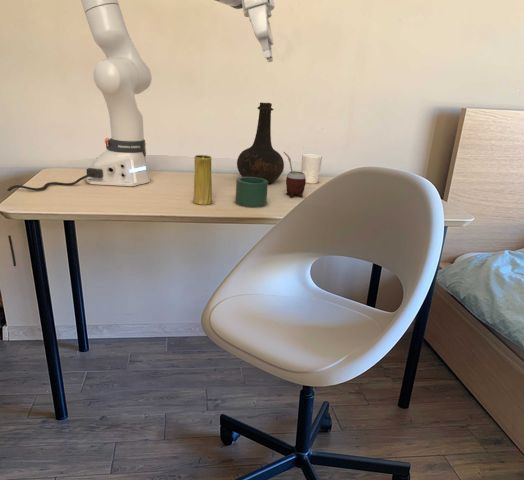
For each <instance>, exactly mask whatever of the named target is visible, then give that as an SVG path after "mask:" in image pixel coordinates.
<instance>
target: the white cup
mask: <svg viewBox="0 0 524 480" xmlns="http://www.w3.org/2000/svg"><path fill="white" fill-rule="evenodd" d="M322 162H323V155H321V154H316V153H303V154H301V171H300V172H302V173H304V174H305V177H306V184H311V185H312V184H317V183H319V177H320V172H321V168H322Z"/></svg>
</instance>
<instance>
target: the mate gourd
mask: <svg viewBox="0 0 524 480" xmlns="http://www.w3.org/2000/svg"><path fill="white" fill-rule="evenodd" d="M283 154H284V155H285V156H286V157H287V160H288V162H289V167H290V171H289V172H288V173H287V175H286V178H285V186H286V193H285V195H287V196H289V198H290V199H291V198H295V197H297V198H303V197H304V196H303V194H304V191H305V187H306V184H307V183H306V177H305V174H304V173H302V172H301V171H294V170H293V166H292V165H293V164H292V160H291V157H290V156H289V154H288V153H286V151H283Z"/></svg>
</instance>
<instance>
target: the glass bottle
mask: <svg viewBox="0 0 524 480" xmlns="http://www.w3.org/2000/svg"><path fill="white" fill-rule="evenodd" d="M272 105H273V103H271V102H259V106H258V107H257V110H259V111H258V120H257V125H256V126H257V127H256V132H255V137H254V139H253V140H254V141H253V142H252V145H251V146H250V147H248V148H245V149H244V150H242V151H241V152H240V154H239V155H238V157H237V160H236V168H237V171H238V173H239V175H240V177H258V178H263V179H266V180H267V181H268V185H269V184H273V183H274V182H275V181H277V180H278V179H279V178H280V176H281V175H282V174H283V172H284V169H285V161H284V158H283V156H282V155H281V154H280V153H279V151H277V150H275V148H274V147H273V145H272V133H271V132H272V129H271V128H272V126H271V125H272V111H274V108H273V106H272Z"/></svg>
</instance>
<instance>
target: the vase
mask: <svg viewBox="0 0 524 480" xmlns="http://www.w3.org/2000/svg"><path fill="white" fill-rule="evenodd" d="M193 185H194V186H193V188H194V189H193V201H192V202H193V203H194V204H196V205H203V206H206V205H211V204H212V203H213V199H212V198H213V193H212V192H213V188H212V187H213V186H212V185H213V182H212V156H210V155H207V154H196V155H194V178H193Z"/></svg>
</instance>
